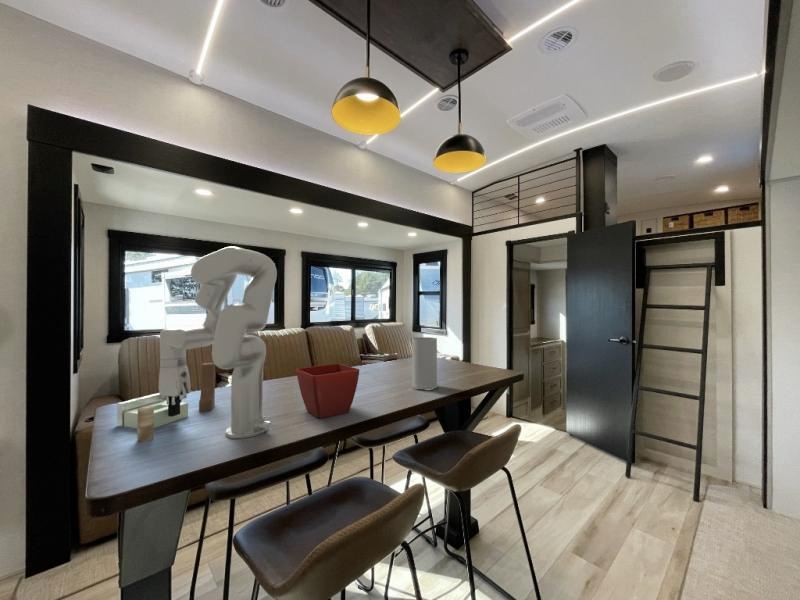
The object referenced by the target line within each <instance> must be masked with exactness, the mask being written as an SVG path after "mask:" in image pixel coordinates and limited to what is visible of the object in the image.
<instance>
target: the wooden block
mask: <svg viewBox="0 0 800 600" xmlns="http://www.w3.org/2000/svg"><path fill="white" fill-rule="evenodd" d="M215 377H216V365H215V364H214V362H204V363H202V364H201V365H200V396H199V397H200V398H199V401H198V412H199V413H202V412H203V413H205V412H211V411H213V409H214V406H215V405H216V404H215V403H216V401H215V398H216V397H215V395H216V391H215V388H216V386H215V385H216V381H215V380H216V378H215Z"/></svg>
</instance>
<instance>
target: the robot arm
mask: <svg viewBox="0 0 800 600" xmlns="http://www.w3.org/2000/svg"><path fill="white" fill-rule="evenodd" d="M238 275H241V276H247V277H249V276H250V277H251V279H250V281H248V283H247V285H246V286H245V288H244V291H243V292H244V293H243V298H242V301H241V303H232V304H228V305H226V306H224V308H222V307H223V304H224V302H225V300H226V299H227V296H228V294H229V292H230V291H231V289H232V287H233V284H234V283H235V281H236V278H237V276H238ZM190 276H191V278H192V280H193V282H195V283H197V284H200V287H199V289H198V291H197V293H196V295H195V296H194V302H195V303H196V304H197V305H198V307H200V308H203V309H204V310H206V312H207V313H206V318H205V320H204V322H203V324H202V325H201V326H190V327H175V328H164V329H162V330H161V331H160V333H159V355H160V356H159V357H160V359H159V362H160V363H159V364H160V365H159V367H160V368H159V374H158V393H159V394H160V395H161V397H162V398H164V399H165V401H166V402H167V405H168V416H171V417H173V416H176V415H179V414H180V403H181V402H183V400H185V399H188V398H187V397H188V394H190V393H191V378H190V371H189V367H188V366H187V350H192V349H198V348H205V347H209V346H211V345H212V348H211V357H212V359H211V360H212V363H214V364H215V367H217V368H218V369H221V370H232V369H233V371H232V374H231V380H230V381H231V386H230V390H231V391H230V426H229V427H227V428H226V430H225V436H226V437H227V438H230V439H245V438H251V437H255V436H259V435H261V434H262V433H265V432H266V431H268V430H269V428H270V426H272V421H270V420H269V421H267V420H266V415H263V412H264V411H263V406H264V405H263V404H264V402H263V401H264V397H263V395H264V364H265V362H266V361H265V359H266V355H267V347H266V343H265V342H264V340H263V339H262V338H261V337H259V336H257V335H252V333H257V332H261V331H263V329H265V327H266V326H267V323H268V319H269V314H270V308H271V304H272V297H273V292H274V288H275V284H276V281H277V277H278V270H277V267H276V264H275V263H274V261H273V260H272V259H271V258H270V257H269V256H267V255H266V254H264V253H261V252H259V251H255V250H251V249H247V248H246V249H245V248H243V247H238V246H227V247H224V248H221V249H218V250H217V251H213V252H211V253H208V254H207V255H204V256H202V257H200V258H199V259H198V260H197V261H195V262H194V264H193V265H192V267H191V270H190ZM245 334H251V335H245Z"/></svg>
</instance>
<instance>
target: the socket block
mask: <svg viewBox="0 0 800 600" xmlns="http://www.w3.org/2000/svg"><path fill="white" fill-rule="evenodd" d="M148 406H154V429H156V428H158V427H161V426H163V425H167V424H171V423H172V422H175V421H178V420H182V419H184V418H187V417H189V402H183V401H181V403H180V414H179V415H176V416H173V417H171V416H168V405H167V402H166V400H165V401H162V402H158V403H155V404H151V405H148ZM137 420H138V408H137V409H133V410H130V411H126V412H124V426H123V428H124V427H125V428H131V429H137Z"/></svg>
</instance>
